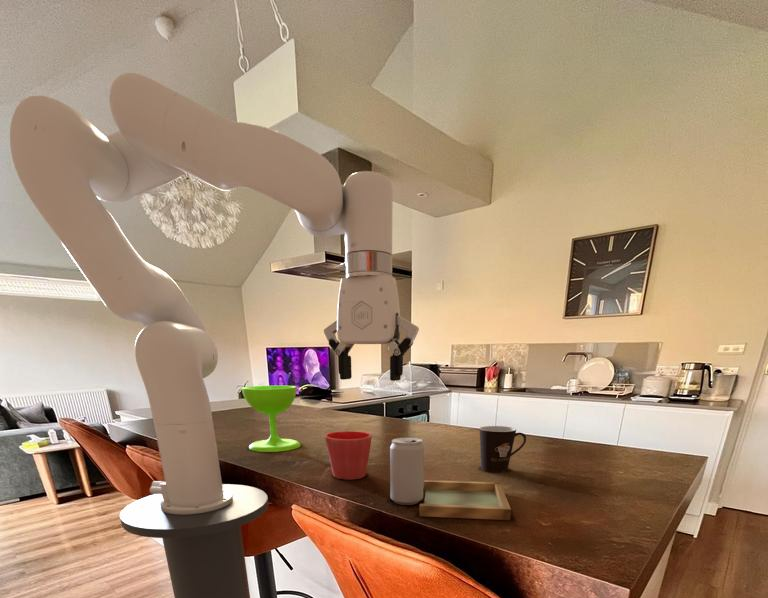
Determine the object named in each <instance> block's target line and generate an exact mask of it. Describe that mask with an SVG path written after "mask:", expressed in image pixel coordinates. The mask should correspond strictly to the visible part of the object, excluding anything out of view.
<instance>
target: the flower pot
mask: <svg viewBox="0 0 768 598" xmlns="http://www.w3.org/2000/svg"><path fill="white" fill-rule="evenodd" d="M324 438H325V443H326V449H327V454H328V459H329V463H330V468H331V471H332V475H333V477H334V478H336V479H339V480H348V481H349V480H351V481H352V480H358V479H362V478H364V477H366V474H367V471H368V470H367V469H368V465H369V464H368V463H369V459H370V458H369V457H370V450H371V446H372V445H371V444H372V434H371V433H370V432H365V431H356V430H355V431H354V430H349V431H348V430H347V431H333V432H328V433H326V434H325V436H324Z"/></svg>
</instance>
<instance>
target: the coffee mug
mask: <svg viewBox="0 0 768 598" xmlns="http://www.w3.org/2000/svg"><path fill="white" fill-rule="evenodd" d="M519 435H520V436H522V437H523V441H522V443H521V445H520V446H518V447H517V448H516V449H514V450H513V448H514V442H515V439H516V437H517V436H519ZM526 442H527V436H526V435H525V434H524V433H523V432H519V431H518V432H517V428H515V427H512V426H505V425H503V426H502V425H501V426H500V425H487V426H481V427H479V446H480V448H479V449H480V450H479V453H480V469H481V470H482V471H484V472H486V473H487V472H489V473H505V472H508V470H509V465H510V460H511V457H512V456H514V455H515V454H516V453H518V452H519V451H520V450H521V449H522V448H524V446H525V444H526Z"/></svg>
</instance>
